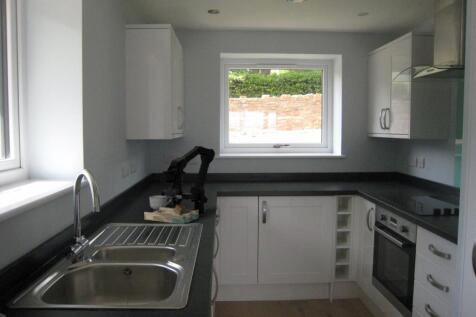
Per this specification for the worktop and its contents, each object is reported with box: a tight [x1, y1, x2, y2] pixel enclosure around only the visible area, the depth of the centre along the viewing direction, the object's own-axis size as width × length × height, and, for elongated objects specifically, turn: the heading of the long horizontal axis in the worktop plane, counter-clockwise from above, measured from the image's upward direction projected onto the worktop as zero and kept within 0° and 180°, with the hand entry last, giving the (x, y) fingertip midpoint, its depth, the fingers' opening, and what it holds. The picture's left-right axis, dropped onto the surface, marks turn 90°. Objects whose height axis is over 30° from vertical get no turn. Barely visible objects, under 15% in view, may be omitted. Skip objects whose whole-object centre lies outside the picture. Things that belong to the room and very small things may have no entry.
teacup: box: [149, 195, 172, 210], centre depth 236 cm, size 14×11×8 cm
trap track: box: [143, 207, 200, 225], centre depth 209 cm, size 15×26×4 cm, turn 66°
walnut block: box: [174, 203, 187, 215], centre depth 210 cm, size 4×4×4 cm
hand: (176, 209), depth 211 cm, fingers closed, pressing on walnut block
